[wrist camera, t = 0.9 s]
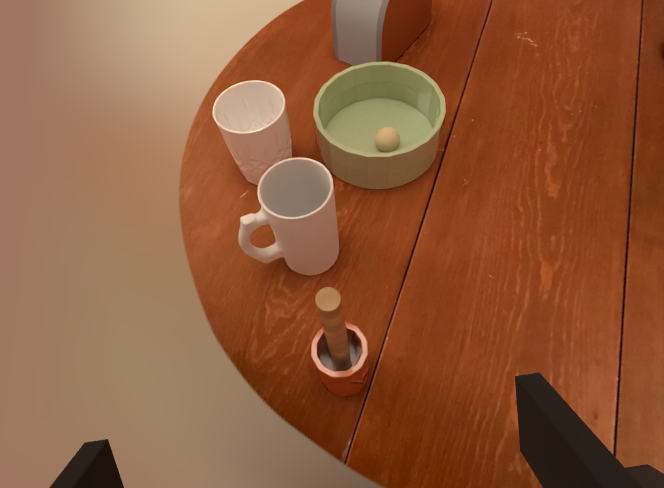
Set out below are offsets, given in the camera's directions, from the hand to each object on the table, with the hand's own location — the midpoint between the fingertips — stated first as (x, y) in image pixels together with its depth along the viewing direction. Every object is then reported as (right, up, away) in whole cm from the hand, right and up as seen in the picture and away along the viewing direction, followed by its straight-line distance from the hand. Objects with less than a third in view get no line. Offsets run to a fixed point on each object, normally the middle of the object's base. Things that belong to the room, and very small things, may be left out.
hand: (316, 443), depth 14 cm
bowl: (+6, +20, +43) cm, 47 cm away
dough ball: (+7, +19, +40) cm, 45 cm away
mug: (-3, +5, +35) cm, 36 cm away
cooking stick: (+2, -6, +28) cm, 29 cm away
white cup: (-8, +16, +42) cm, 46 cm away
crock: (+2, -6, +29) cm, 29 cm away
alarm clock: (+8, +37, +53) cm, 65 cm away
